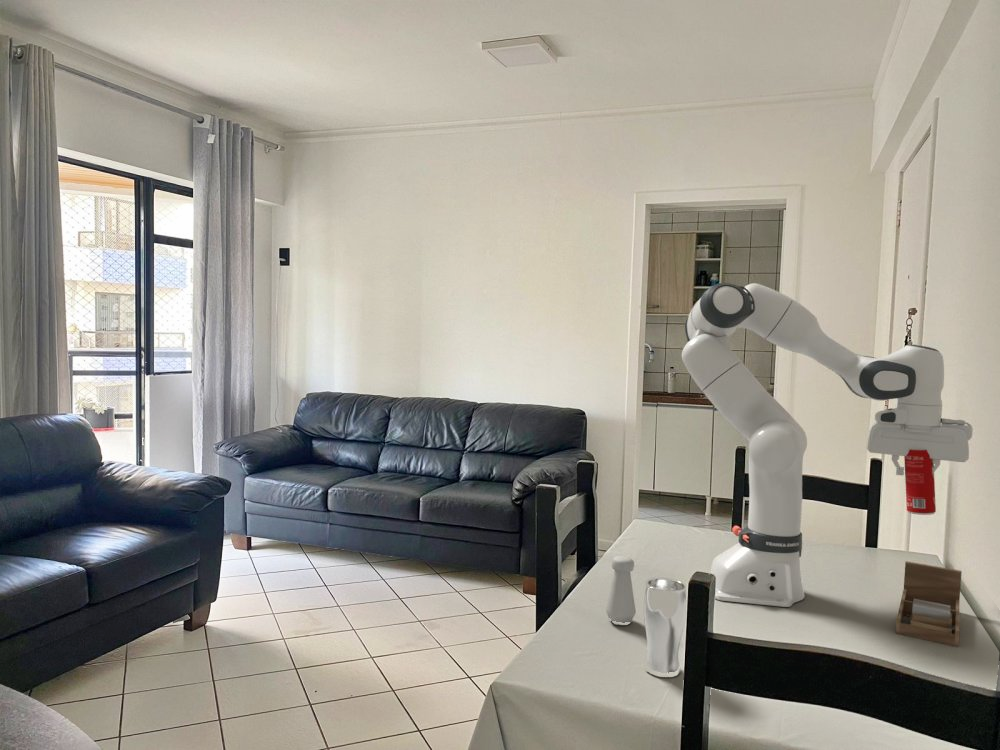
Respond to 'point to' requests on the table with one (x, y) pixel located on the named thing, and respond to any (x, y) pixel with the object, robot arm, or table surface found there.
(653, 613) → the beer glass
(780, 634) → the table surface
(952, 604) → the rack
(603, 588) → the table surface
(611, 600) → the salt shaker
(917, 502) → the beverage can
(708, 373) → the robot arm
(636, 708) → the table surface
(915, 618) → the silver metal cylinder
